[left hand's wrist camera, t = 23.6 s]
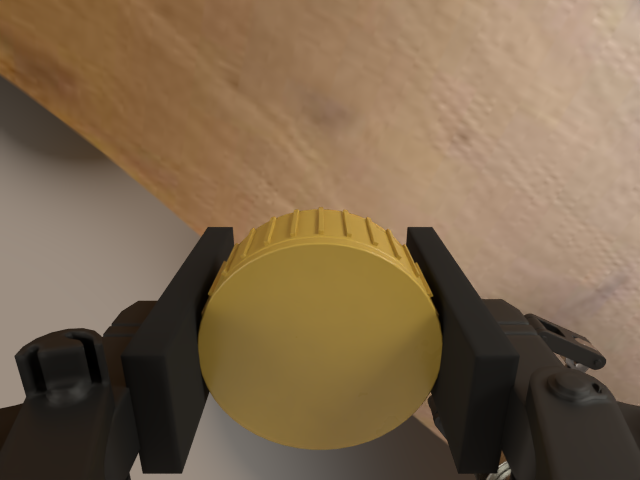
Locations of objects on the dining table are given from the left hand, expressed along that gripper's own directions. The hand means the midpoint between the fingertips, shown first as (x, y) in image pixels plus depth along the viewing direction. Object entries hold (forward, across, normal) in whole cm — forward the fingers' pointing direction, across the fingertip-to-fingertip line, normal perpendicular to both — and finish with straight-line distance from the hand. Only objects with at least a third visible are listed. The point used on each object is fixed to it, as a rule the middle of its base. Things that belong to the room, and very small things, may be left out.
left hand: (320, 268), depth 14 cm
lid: (-4, 0, 0) cm, 4 cm away
